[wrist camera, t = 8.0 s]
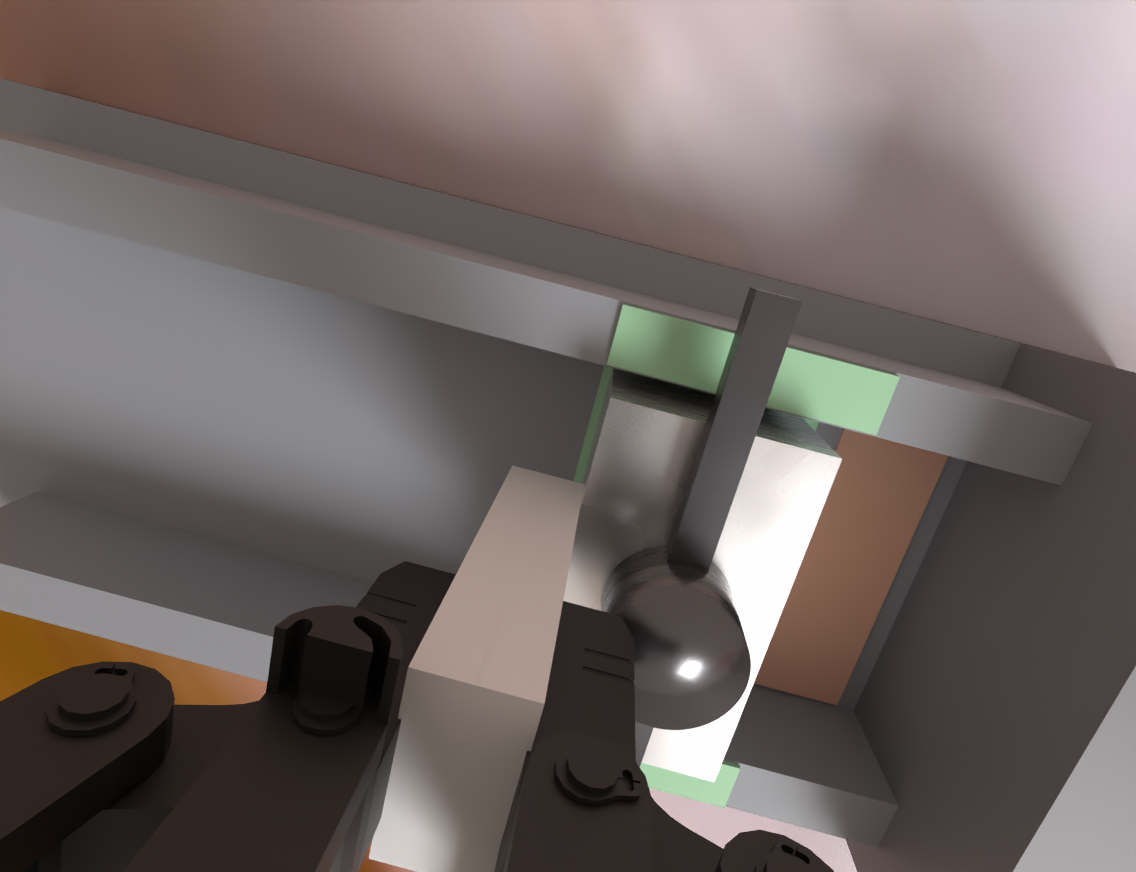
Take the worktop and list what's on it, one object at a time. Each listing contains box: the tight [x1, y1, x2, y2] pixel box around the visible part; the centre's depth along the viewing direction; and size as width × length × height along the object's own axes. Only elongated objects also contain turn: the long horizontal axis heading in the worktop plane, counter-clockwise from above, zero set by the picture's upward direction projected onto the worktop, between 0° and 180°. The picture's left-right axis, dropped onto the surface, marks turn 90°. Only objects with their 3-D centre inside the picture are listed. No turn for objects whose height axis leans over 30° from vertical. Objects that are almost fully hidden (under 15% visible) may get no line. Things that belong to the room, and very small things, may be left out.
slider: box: [563, 287, 842, 782], centre depth 13 cm, size 4×12×6 cm, turn 166°
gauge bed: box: [0, 78, 1136, 872], centre depth 14 cm, size 26×12×7 cm, turn 76°
